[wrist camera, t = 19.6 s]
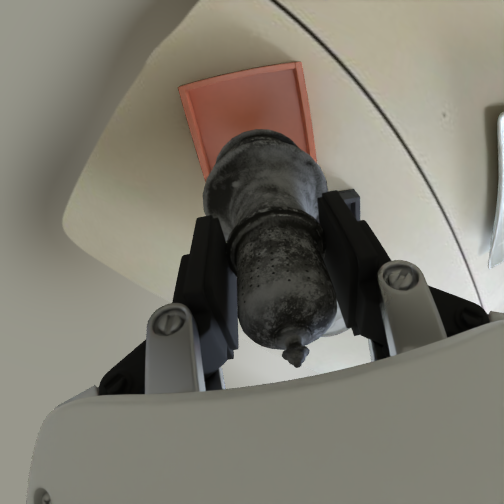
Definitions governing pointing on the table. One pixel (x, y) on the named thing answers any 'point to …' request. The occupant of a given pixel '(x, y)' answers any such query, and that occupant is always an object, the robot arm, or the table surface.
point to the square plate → (499, 204)
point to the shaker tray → (247, 108)
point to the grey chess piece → (273, 239)
